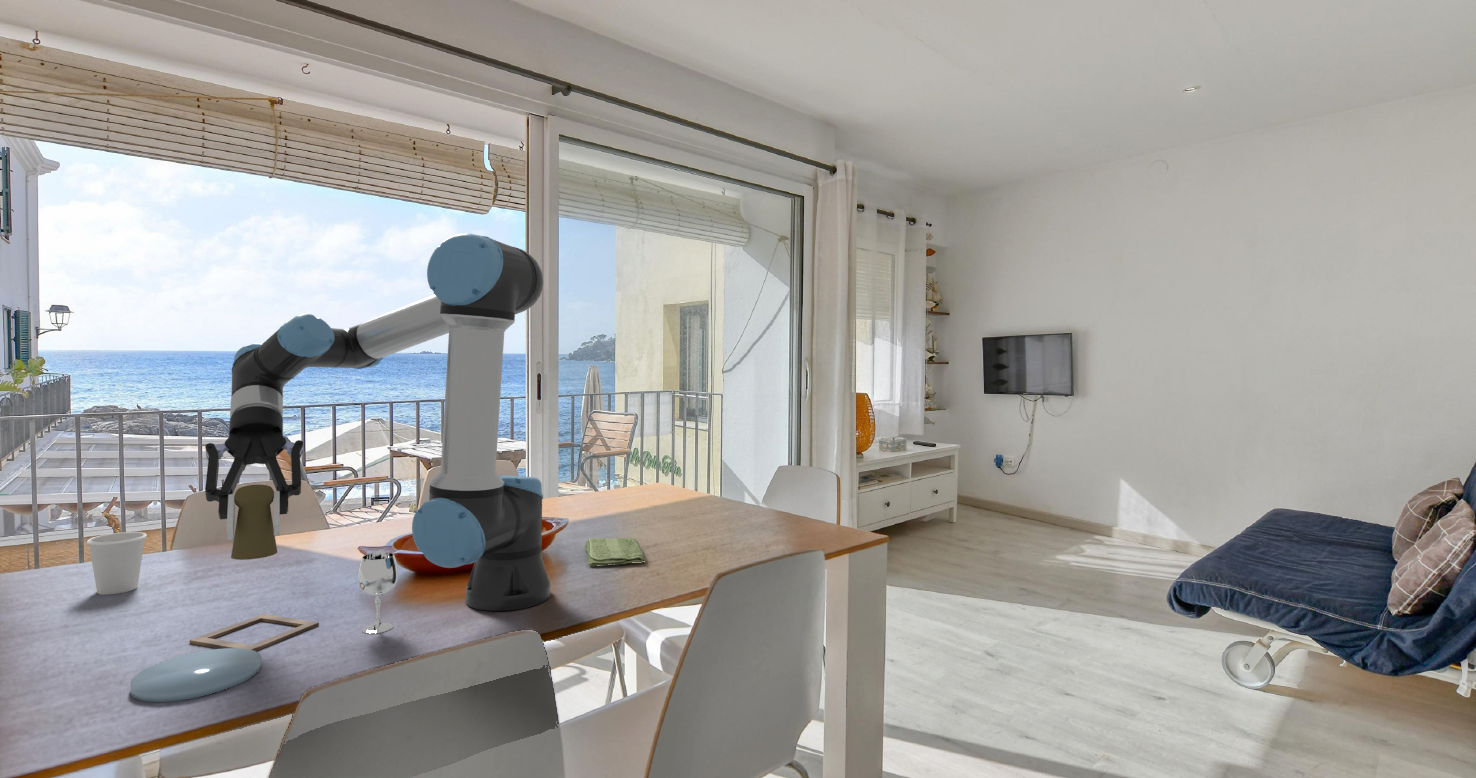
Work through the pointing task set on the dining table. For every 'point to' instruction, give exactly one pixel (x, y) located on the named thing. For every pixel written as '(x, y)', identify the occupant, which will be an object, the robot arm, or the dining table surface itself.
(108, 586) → the dixie cup
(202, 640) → the walnut frame
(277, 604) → the dining table surface
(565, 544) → the dining table surface
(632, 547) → the washcloth
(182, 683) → the saucer
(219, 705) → the dining table surface
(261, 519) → the cork
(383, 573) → the wineglass
